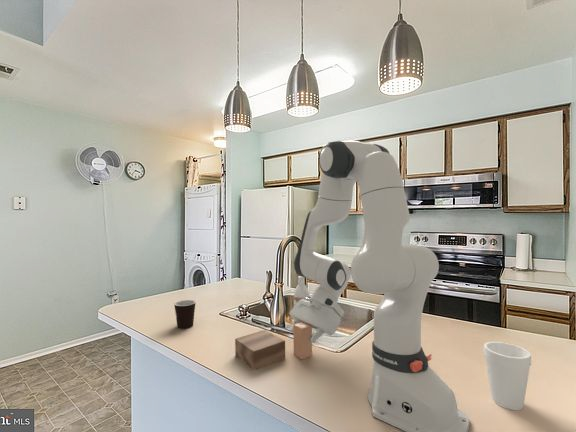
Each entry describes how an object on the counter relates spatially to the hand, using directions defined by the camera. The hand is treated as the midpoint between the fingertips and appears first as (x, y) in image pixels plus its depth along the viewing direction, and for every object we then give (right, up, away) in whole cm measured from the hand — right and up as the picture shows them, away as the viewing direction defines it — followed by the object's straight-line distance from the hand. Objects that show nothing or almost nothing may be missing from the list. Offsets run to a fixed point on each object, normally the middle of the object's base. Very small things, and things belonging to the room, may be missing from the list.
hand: (301, 337), depth 100 cm
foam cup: (+50, -6, -26) cm, 56 cm away
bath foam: (+2, -6, +31) cm, 32 cm away
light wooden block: (0, -6, 0) cm, 6 cm away
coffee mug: (-49, -7, +29) cm, 57 cm away
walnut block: (-14, -7, -1) cm, 15 cm away
